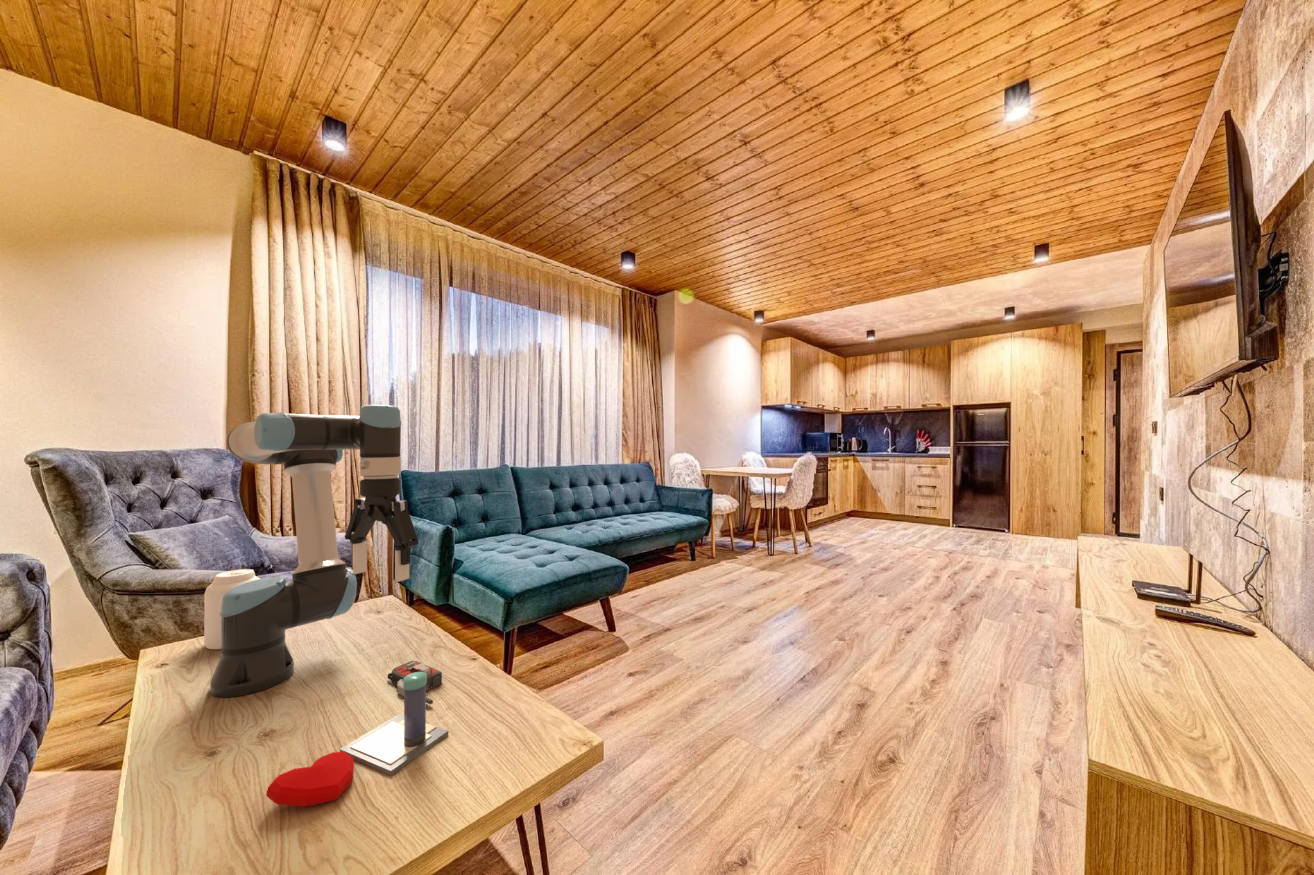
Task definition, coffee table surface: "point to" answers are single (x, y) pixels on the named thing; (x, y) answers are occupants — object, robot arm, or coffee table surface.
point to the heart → (313, 781)
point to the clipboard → (390, 746)
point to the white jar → (220, 602)
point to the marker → (414, 708)
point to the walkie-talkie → (411, 667)
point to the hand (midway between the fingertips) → (380, 576)
